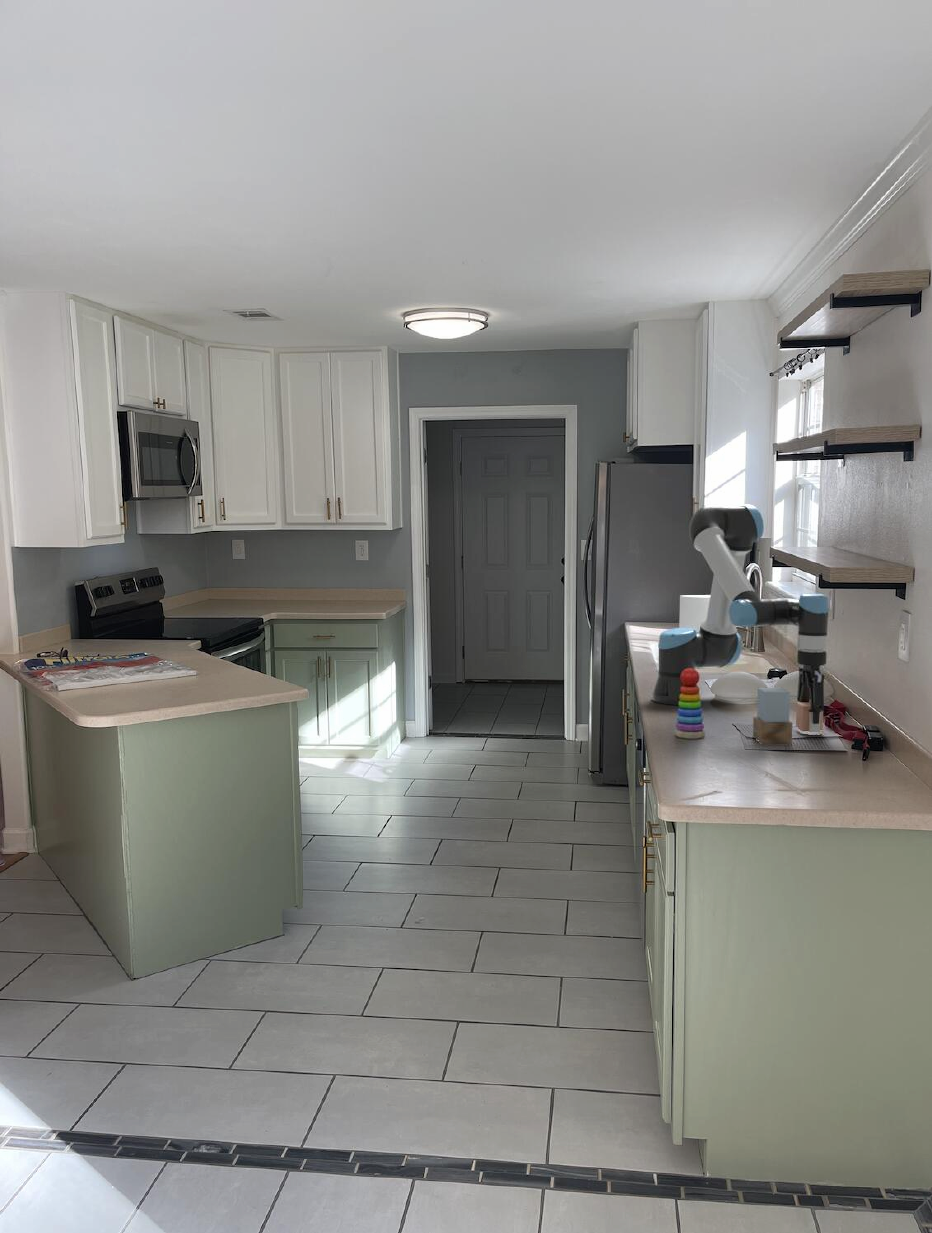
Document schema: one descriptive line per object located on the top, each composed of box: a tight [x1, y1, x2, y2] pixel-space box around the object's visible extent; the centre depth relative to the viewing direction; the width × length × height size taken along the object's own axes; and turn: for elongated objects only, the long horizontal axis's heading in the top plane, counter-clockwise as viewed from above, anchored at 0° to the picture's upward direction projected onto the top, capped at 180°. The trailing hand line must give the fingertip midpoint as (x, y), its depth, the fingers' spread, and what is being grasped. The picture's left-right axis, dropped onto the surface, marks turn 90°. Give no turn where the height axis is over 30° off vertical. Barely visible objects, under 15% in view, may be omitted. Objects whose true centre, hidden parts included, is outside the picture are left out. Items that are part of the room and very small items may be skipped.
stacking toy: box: [674, 668, 706, 740], centre depth 263 cm, size 8×8×19 cm
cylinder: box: [678, 594, 718, 669], centre depth 387 cm, size 17×17×28 cm
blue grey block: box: [756, 687, 791, 722], centre depth 258 cm, size 6×6×8 cm
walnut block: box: [752, 715, 793, 746], centre depth 259 cm, size 8×8×6 cm
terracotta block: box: [795, 701, 824, 731], centre depth 268 cm, size 6×6×8 cm
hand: (809, 731), depth 269 cm, fingers open, 7 cm apart
